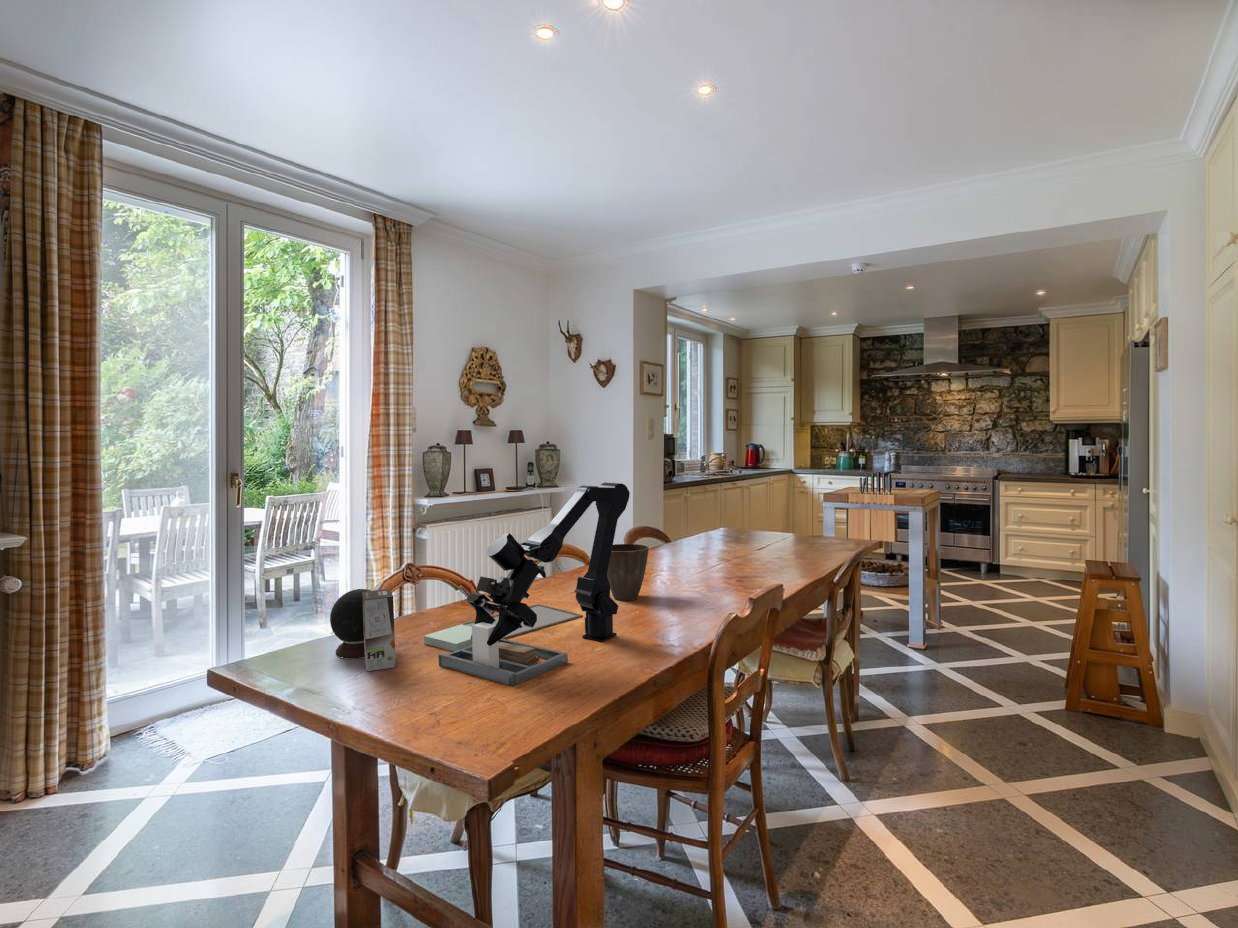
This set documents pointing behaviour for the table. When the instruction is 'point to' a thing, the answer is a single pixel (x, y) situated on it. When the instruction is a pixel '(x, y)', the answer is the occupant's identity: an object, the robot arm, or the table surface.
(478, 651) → the tall white cuboid
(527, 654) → the offcut stack
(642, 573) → the plant pot
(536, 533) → the robot arm
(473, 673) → the offcut tray
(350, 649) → the black sphere with base
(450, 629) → the green board
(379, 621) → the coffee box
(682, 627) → the table surface
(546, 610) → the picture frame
